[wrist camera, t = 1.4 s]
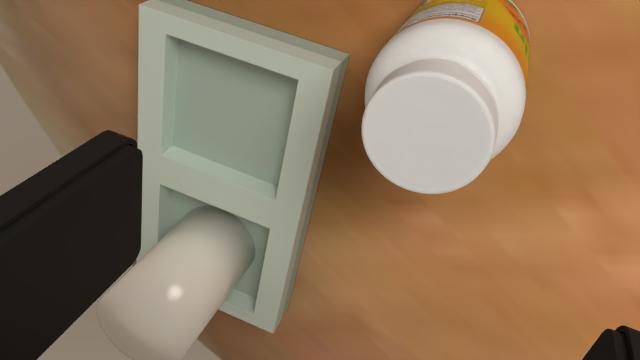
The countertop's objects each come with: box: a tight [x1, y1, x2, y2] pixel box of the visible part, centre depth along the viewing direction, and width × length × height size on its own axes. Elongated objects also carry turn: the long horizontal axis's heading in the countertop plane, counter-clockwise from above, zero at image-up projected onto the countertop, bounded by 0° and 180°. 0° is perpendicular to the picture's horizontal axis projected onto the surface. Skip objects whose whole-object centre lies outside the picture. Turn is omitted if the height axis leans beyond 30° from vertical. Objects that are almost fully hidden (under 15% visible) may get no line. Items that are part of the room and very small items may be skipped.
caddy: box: [136, 0, 350, 333], centre depth 31 cm, size 18×10×2 cm, turn 168°
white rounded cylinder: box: [97, 205, 255, 360], centre depth 30 cm, size 5×5×8 cm
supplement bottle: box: [361, 0, 530, 194], centre depth 20 cm, size 5×5×10 cm
